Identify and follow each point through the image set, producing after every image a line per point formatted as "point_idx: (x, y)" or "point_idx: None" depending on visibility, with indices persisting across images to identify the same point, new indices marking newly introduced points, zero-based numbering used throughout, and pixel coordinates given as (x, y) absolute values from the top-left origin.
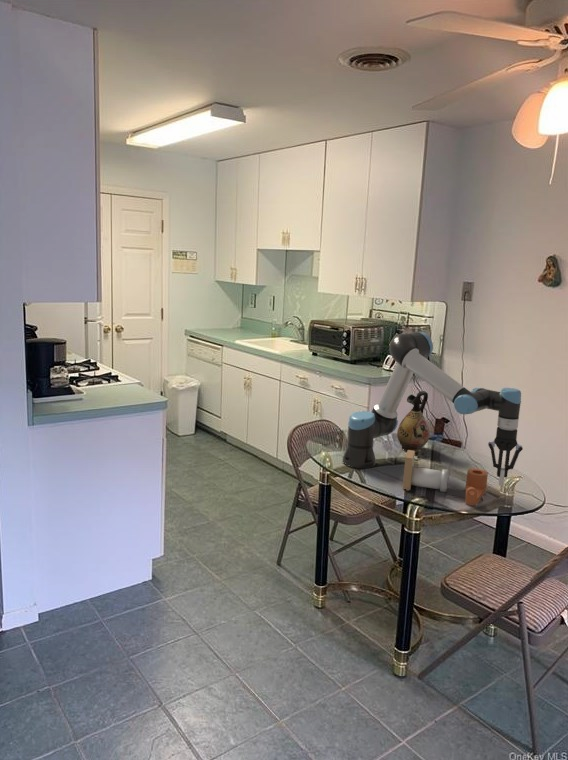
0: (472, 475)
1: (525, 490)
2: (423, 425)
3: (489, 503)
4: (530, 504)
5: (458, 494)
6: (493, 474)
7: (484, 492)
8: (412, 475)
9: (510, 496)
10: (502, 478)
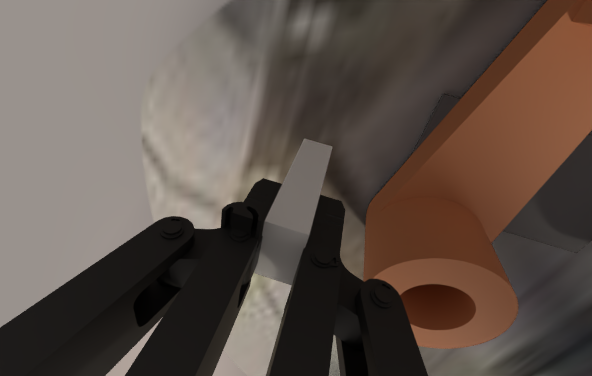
0: (504, 275)
1: None
2: None
3: (416, 53)
4: (176, 73)
5: (575, 166)
6: (276, 327)
7: (389, 184)
8: None
9: (258, 162)
10: (302, 171)
